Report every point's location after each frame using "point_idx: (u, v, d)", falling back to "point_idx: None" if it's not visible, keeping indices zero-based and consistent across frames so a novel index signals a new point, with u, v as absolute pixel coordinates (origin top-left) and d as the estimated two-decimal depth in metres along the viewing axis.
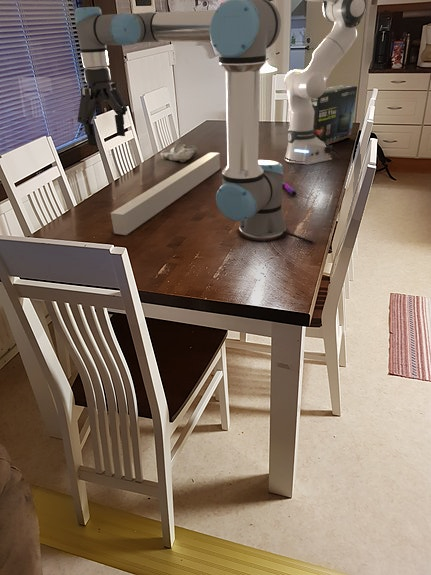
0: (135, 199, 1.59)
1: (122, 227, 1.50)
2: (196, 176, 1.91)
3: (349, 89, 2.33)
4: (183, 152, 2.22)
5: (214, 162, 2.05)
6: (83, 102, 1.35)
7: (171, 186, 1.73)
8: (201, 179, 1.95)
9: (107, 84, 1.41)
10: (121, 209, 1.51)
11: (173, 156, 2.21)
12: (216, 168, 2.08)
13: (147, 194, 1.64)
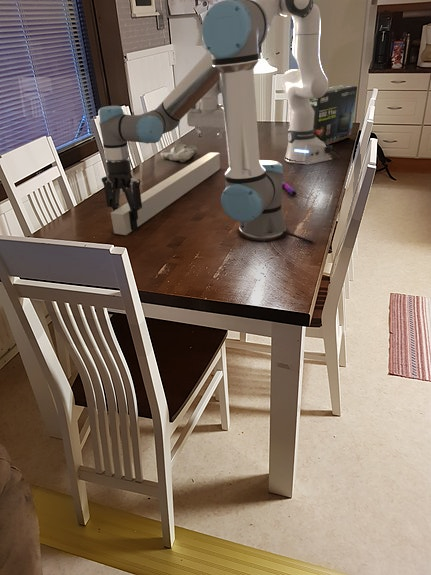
0: None
1: (122, 227, 1.50)
2: (196, 176, 1.91)
3: (349, 89, 2.33)
4: (183, 152, 2.22)
5: (214, 162, 2.05)
6: None
7: (171, 186, 1.73)
8: (201, 179, 1.95)
9: (124, 176, 1.44)
10: (121, 209, 1.51)
11: (173, 156, 2.21)
12: (216, 168, 2.08)
13: (147, 194, 1.64)
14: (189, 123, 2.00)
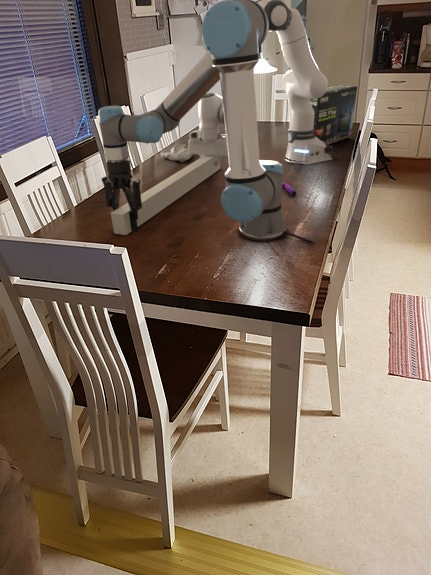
0: None
1: (122, 227, 1.50)
2: (196, 176, 1.91)
3: (349, 89, 2.33)
4: (183, 152, 2.22)
5: (214, 162, 2.05)
6: None
7: (171, 186, 1.73)
8: (201, 179, 1.95)
9: (124, 176, 1.44)
10: (121, 209, 1.51)
11: (173, 156, 2.21)
12: (216, 168, 2.08)
13: (147, 194, 1.64)
14: (191, 151, 2.06)
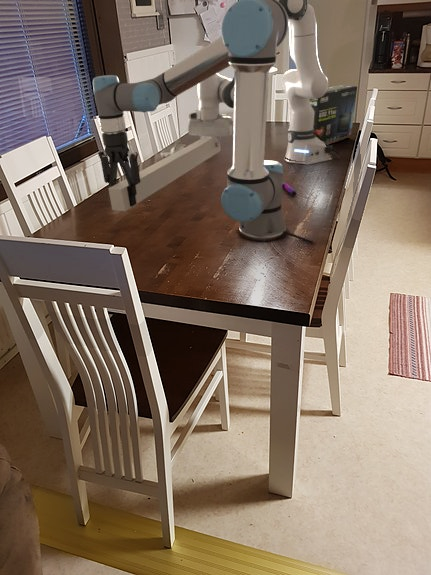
0: None
1: (120, 203, 1.46)
2: (196, 156, 1.86)
3: (349, 89, 2.33)
4: None
5: None
6: None
7: (171, 164, 1.69)
8: (201, 159, 1.91)
9: (121, 149, 1.40)
10: (119, 185, 1.47)
11: None
12: (216, 149, 2.03)
13: (146, 171, 1.59)
14: (190, 132, 2.02)
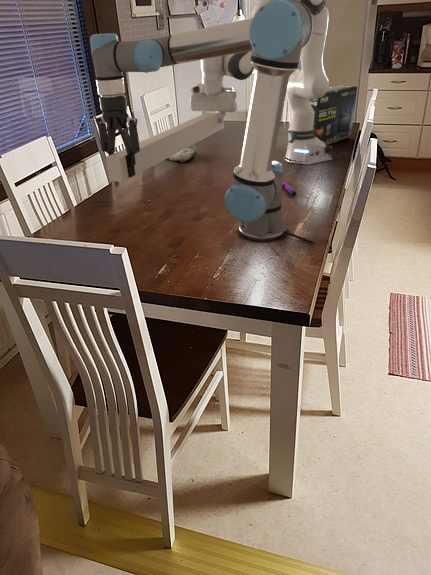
0: None
1: (118, 173, 1.38)
2: (198, 131, 1.78)
3: (349, 89, 2.33)
4: (183, 152, 2.22)
5: (218, 119, 1.92)
6: None
7: (172, 137, 1.61)
8: (204, 135, 1.83)
9: (120, 114, 1.32)
10: (117, 154, 1.39)
11: (173, 156, 2.21)
12: (220, 126, 1.95)
13: (146, 142, 1.51)
14: (193, 108, 1.93)
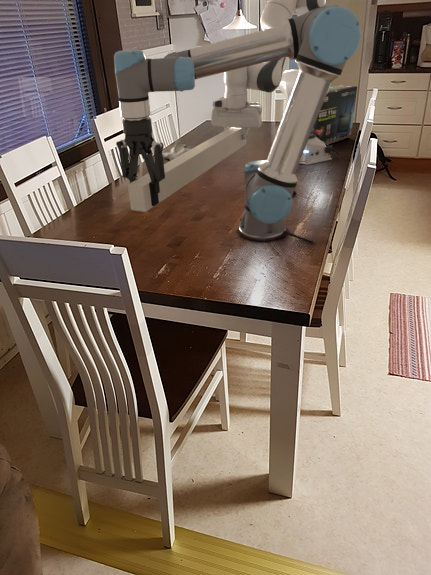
0: None
1: (141, 202, 1.25)
2: (222, 149, 1.65)
3: (349, 89, 2.33)
4: (183, 152, 2.22)
5: None
6: None
7: (196, 158, 1.48)
8: (227, 153, 1.70)
9: (144, 138, 1.19)
10: (140, 181, 1.26)
11: (173, 156, 2.21)
12: (242, 142, 1.82)
13: (169, 165, 1.38)
14: (214, 123, 1.81)
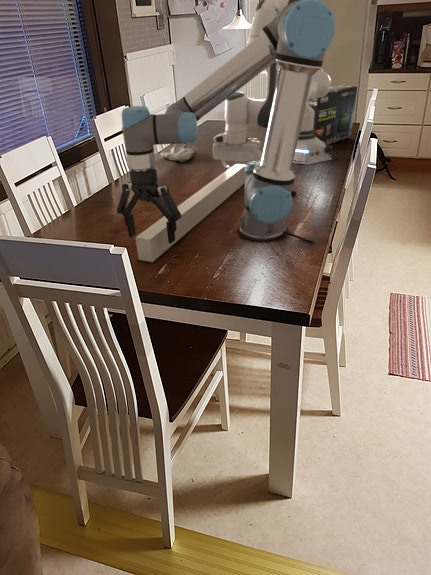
0: (161, 220, 1.42)
1: (148, 253, 1.33)
2: (223, 191, 1.73)
3: (349, 89, 2.33)
4: (183, 152, 2.22)
5: (241, 174, 1.88)
6: None
7: (199, 204, 1.56)
8: (228, 194, 1.78)
9: (150, 187, 1.26)
10: (147, 233, 1.34)
11: (173, 156, 2.21)
12: (242, 181, 1.90)
13: None
14: (215, 156, 1.88)
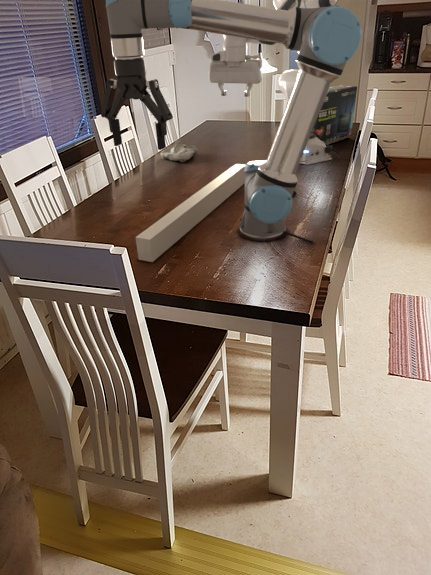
0: (161, 220, 1.42)
1: (148, 253, 1.33)
2: (223, 191, 1.73)
3: (349, 89, 2.33)
4: (183, 152, 2.22)
5: (241, 174, 1.88)
6: None
7: (199, 204, 1.56)
8: (228, 194, 1.78)
9: (138, 80, 1.12)
10: (147, 233, 1.34)
11: (173, 156, 2.21)
12: (242, 181, 1.90)
13: (174, 214, 1.46)
14: (212, 79, 1.72)
